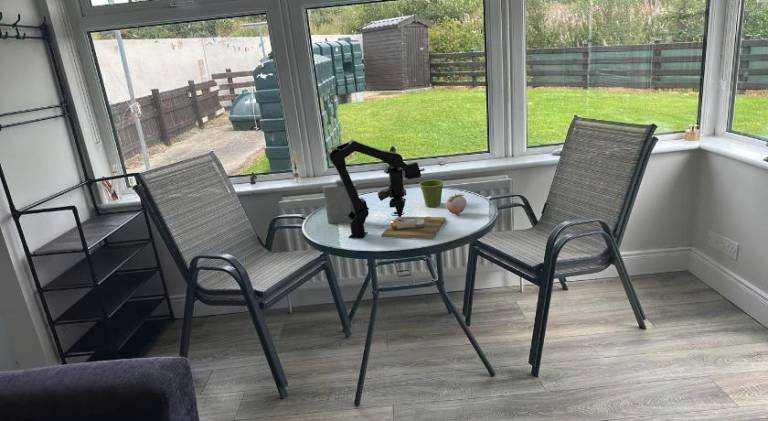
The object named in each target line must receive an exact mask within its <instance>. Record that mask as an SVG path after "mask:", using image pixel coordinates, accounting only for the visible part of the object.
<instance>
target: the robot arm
mask: <svg viewBox="0 0 768 421" xmlns="http://www.w3.org/2000/svg"><path fill="white" fill-rule="evenodd" d="M354 152H357V153H360V154H363V155H366V156H368V157H371V158H375V159H377V160H380V161H382V162H384V163H386V164H388V165H389V166H391V167H389V166H386V168H385V169H384V170H383V173H385V174H386V175H388V176H389V177H388V178H389V186H388V187H386V188H384V189H381V190H380V191H378V192H377V196H378V199H379V201H381V202H382V201H384V200H386V199H388V198H390V200H389V202H388V203H389V208H395V210H396V214H397V215H398V216H397V217H403V212H404V209H405V206H406V200H407V199H406V197H405V196H407V190H406V189H405V188H404V186H405V182H404V179H406V181H409V180H415V179H420V178H421V175H422V174H421V173H422V172H421V170H420V167H419V163H418V162H417V161H414V162H411V163H406V162H405V161H404V159H403V156H402V155H401V154H400V153H397V152H395V151H391V150H382V149H378V148H377V147H376V148H375V147H373V146H370V145H368V144H364V143H361V142H358V141H356V140H354V139H351V140H349V141H347V142H346V143H343V144H340V145H338V146H336V147H335V146H331V147H330V148H329V149H327V152H326V157H327V159H328V161H329V162H330V164H331V165H332V166H333V167H334V169H335V170H336V172H337V174H338V176H339V179H341V181H342V183H343V186H344V188H345V190H346V192H347V195H348V197H349V199H350V206H351V210H352V211H351V212H350V213H349V215H348V216H347V217H348V219H349V220H350V221H351V222H350V224H349V225H350V232H351V234H350V235H349V236H348V239H364V238H365V237H366V236H367V235H368V234H369V231H365V224H366V221H367V220H366V219H367V218H368V216H369V213H370V212H369V211H370V208H369V206H368V205H367V201H366V200H365V199H364V198H363V197H359V193H358V194H357V192H356V189H355V187H354V185H353V184H354V183H353V180H352V178H351V176H350V174H349V170H348V169H347V165H346V158H348V157H349V156H350V155H352V154H353V153H354ZM404 197H405V198H404Z"/></svg>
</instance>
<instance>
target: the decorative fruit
mask: <svg viewBox="0 0 768 421" xmlns="http://www.w3.org/2000/svg"><path fill="white" fill-rule="evenodd" d="M454 194H455V195H452V196H450V197H448V198H447V199H446V202H445V206H446V209H447V210H448V212H450V213H451V214H453V215H456V216H458V215H459V214H462V212H463V211H464V210H465V209H466V206H467V200H466V198H465V195H464V194H462V193H459V194H457V193H454Z"/></svg>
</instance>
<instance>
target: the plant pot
mask: <svg viewBox="0 0 768 421" xmlns="http://www.w3.org/2000/svg"><path fill="white" fill-rule="evenodd" d="M444 184H445V182H444V181H443V180H441V179H428V180H423V181H421V182H419V184H418V185H419V186H420V189H421V192H422V195H423V200H424V205H425V206H426V207H427V208H439V207H440V206H441V204H442V193H443V188H444Z"/></svg>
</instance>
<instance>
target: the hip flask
mask: <svg viewBox="0 0 768 421" xmlns="http://www.w3.org/2000/svg"><path fill="white" fill-rule="evenodd" d="M353 185H354V187H355V189H356V192H357V194H358V195H359V192H358V186H357V185H358V184H356V183H353ZM322 190H323V197H324V199H323V200H324V205H325V211H326V218H327V224H330V225H331V224H341V223H342V224H344V223H345V224H347V223H350V222H351V221H350V220H349V219H348V217H347V216H348V215H349V213H350V212H351V211H352V210H351V206H350V199H349V197H348V195H347V192H346V190H345V188H344V186H343V183H342V181H341V179H340V178H339V179H336V180H335V184H331V185H330V184H329V185H324V186H322Z"/></svg>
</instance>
